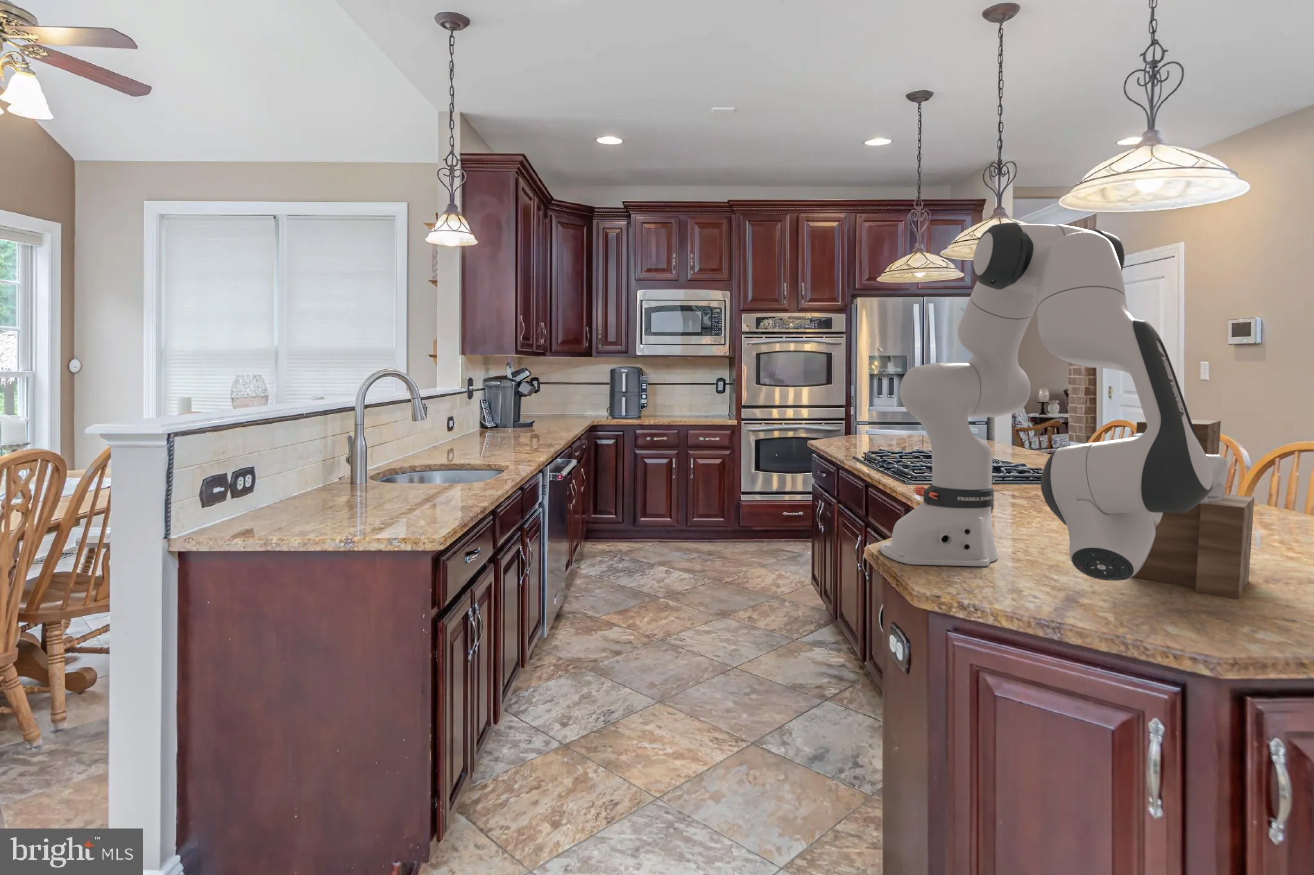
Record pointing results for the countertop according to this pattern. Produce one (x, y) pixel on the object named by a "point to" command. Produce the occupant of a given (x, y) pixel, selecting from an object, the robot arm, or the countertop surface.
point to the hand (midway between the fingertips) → (1149, 442)
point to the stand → (1204, 537)
